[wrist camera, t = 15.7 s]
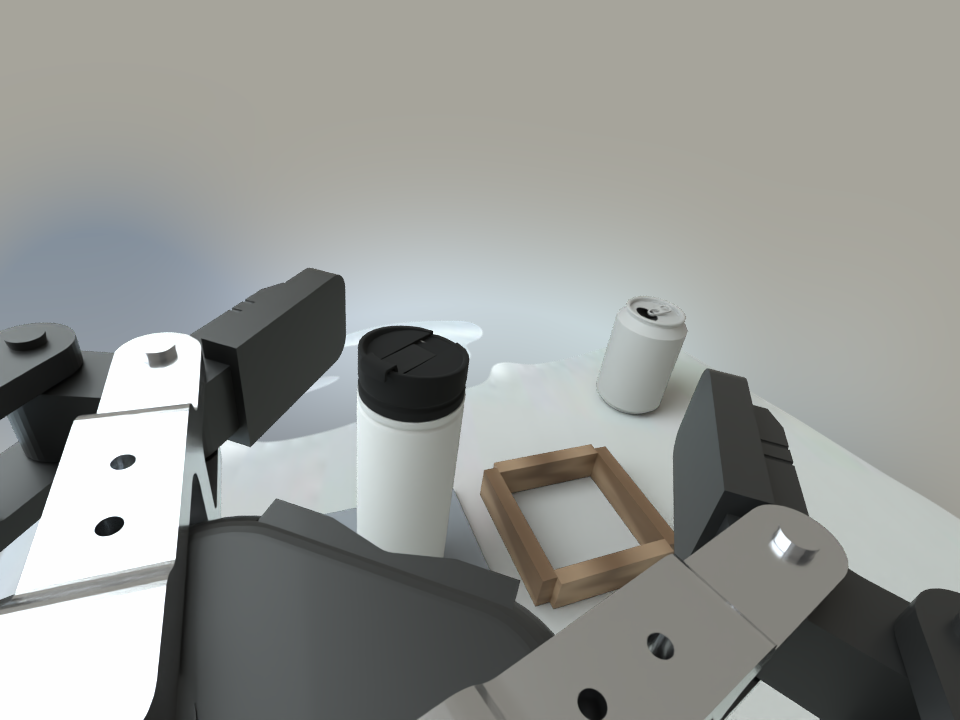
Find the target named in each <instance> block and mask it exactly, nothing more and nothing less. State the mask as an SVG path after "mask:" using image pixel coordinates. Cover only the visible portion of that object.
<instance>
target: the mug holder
mask: <svg viewBox="0 0 960 720" xmlns="http://www.w3.org/2000/svg"><path fill="white" fill-rule="evenodd" d="M588 476H591V478H592V479H593V480H594V482H595V483H596V484H597V486H598V487H599V489H600V490H601V491H602V493H603V494H604V495H605V497H606V498H607V500H608V501H609V502H610V504H611V505H612V506H613V508H614V509H615V511H616V512H617V513H618V515H619V516H620V517H621V519H622V520H623V522H624V523H625V524H626V526H627V527H628V528H629V530H630V531H631V533H632V534H633V535H634V537H635V538H636V539H637V541H638V542H639V544H640V545H641V546H637V547H633V548H630V549H626V550H623V551H619V552H616V553H612V554H609V555H605V556H602V557H598V558H595V559H591V560H588V561H584V562H581V563H577V564H573V565H570V566H566V567H563V568H559V569H556V570H553V568H552V566H551V564H550V562H549V561H548V559H547V557H546V555H545V553H544V551H543V550H542V548H541V546H540V544H539V542H538V541H537V539H536V537H535V535H534V533H533V532H532V530H531V528H530V526H529V524H528V523H527V521H526V519H525V517H524V515H523V514H522V512H521V510H520V508H519V506H518V505H517V503H516V501H515V499H514V497H513V496H512V494H511V493H514V492H519V491H523V490H528V489H533V488H537V487H542V486H546V485H551V484H556V483H560V482H565V481H569V480H574V479H579V478H583V477H588ZM480 495H481V497H482V499H483V501H484V503H485V505H486V507H487V510H488V512H489V514H490V516H491V518H492V520H493V522H494V524H495V526H496V528H497V530H498V532H499V534H500V536H501V538H502V540H503V542H504V544H505V546H506V548H507V550H508V552H509V554H510V556H511V558H512V560H513V562H514V564H515V566H516V568H517V570H518V572H519V574H520V576H521V578H522V580H523V582H524V584H525V586H526V588H527V590H528V592H529V594H530V596H531V599H532V601H533V603H534V605H535V606H538V605H541V604H544V603H547V602H550V604H551V605H552V607H553V609H555V608H558V607H562V606H565V605H568V604H571V603H574V602H577V601H581V600H584V599H587V598H590V597H593V596H597V595H600V594H603V593H606V592H609V591H613V590H616V589H619V588H622V587H623V586H624V585H626V584H627V583H629V582H630V581H631V580H633V579H634V578H636V577H637V576H638V575H640V574H641V573H643V572H644V571H645V570H647V569H648V568H650V567H651V566H652V565H654V564H655V563H657V562H658V561H659V560H661V559H662V558H664V557H666V556H668V555H670V554H674V531H673V530H672V529H671V528H670V526H669V525H668V524H667V523H666V521H665V520H664V519H663V518H662V516H661V515H660V514H659V513H658V512H657V510H656V509H655V508H654V507H653V505H652V504H651V503H650V502H649V500H648V499H647V498H646V497H645V495H644V494H643V493H642V492H641V490H640V489H639V488H638V487H637V485H636V484H635V483H634V482H633V480H632V479H631V478H630V477H629V475H628V474H627V473H626V472H625V470H624V469H623V468H622V467H621V465H620V464H619V463H618V462H617V460H616V459H615V458H614V457H613V455H612V454H611V453H610V452H609V450H608V449H607V448H606V447H600V448H595V449H594V447H593V446H592V445H591V444H590V445H585V446H580V447H574V448H569V449H564V450H559V451H554V452H548V453H543V454H538V455H533V456H527V457H522V458H517V459H512V460H507V461H501V462H496V463H494V467H493V468H492V469H487V470H484V475H483V480H482V486H481V492H480Z"/></svg>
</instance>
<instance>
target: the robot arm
mask: <svg viewBox="0 0 960 720" xmlns="http://www.w3.org/2000/svg"><path fill="white" fill-rule="evenodd" d="M345 339H346V314H345V283H344V279H343V278H342V276H340V275H336V274H333V273H329V272H325V271H321V270H317V269H313V268H307V269H305V270H303V271H302V272H300V273H299V274H297V275H296V276H294V277H293V278H291V279H290V280H288V281H287V282H286V283H280V284H277V285H274V286H271V287H268V288H264V289H261V290H259V291H258V292H257V293H255V294H254V295H252V296H250V297H249V298H247V299H246V300H245V302H241V303H239V304H238V305H236V306H234V307H233V308H232V311H231V310H228V311H227V312H225V313H224V314H222V315H220V316H219V317H217V318H216V319H214V320H213V321H211V322H209V323H208V324H207V325H205V326H203V327H202V328H200V329H198V330H197V331H195V332H194V333H192V334H191V335H185V334H181V333H171V332H168V333H155V334H149V335H145V336H141V337H138V338H135V339H133V340H131V341H129V342H127V343H125V344H124V345H122V346H121V347H120V348H119V349H118V350H117V351H116V352H115V353H108V352H93V351H81V350H80V347H79V344H78V341H77V338H76V335H75V332H74V331H73V330H72V329H71V328H69V327H68V326H65V325H61V324H56V323H31V324H24V325H19V326H15V327H11V328H8V329H5V330H2V331H0V420H1V419H2V418H4V417H5V416H8V418H9V421H10V423H11V425H12V428H13V430H14V432H15V434H16V436H17V438H18V442H17V443H15V444H14V445H12V446H11V447H9V448H8V449H7V450H5V451H4V452H2V453H1V454H0V552H1V551H2V550H3V549H5V548H6V547H7V546H8V545H9V544H11V543H12V542H13V541H14V540H15V539H17V538H18V537H19V536H20V535H21V534H22V533H24V532H25V531H26V530H27V529H28V528H30V527H31V526H32V525H33V524H34V523H36V522H37V521H38V520H39V519H40V518H41V520H40V523H39V526H38V529H37V532H36V535H35V538H34V541H33V544H32V547H31V550H30V553H29V555H28V558H27V561H26V564H25V567H24V570H23V573H22V576H21V579H20V582H19V585H18V588H17V590H16V593H15V594H14V595H11V596H9V597H6V598H4V599H1V600H0V720H726V719H727V718H728V717H729V716H730V715H731V714H732V713H733V712H734V711H735V710H736V708H737V707H738V706H739V705H740V704H741V703H742V702H743V701H744V700H745V699H746V697H747V696H748V695H749V694H750V693H751V692H752V691H753V690H754V689H755V688H756V687H757V685H758V684H759V683H760V682H761V681H763V682H765V683H766V684H768V685H769V686H771V687H772V688H774V689H775V690H777V691H778V692H780V693H782V694H783V695H785V696H786V697H788V698H789V699H791V700H792V701H794V702H795V703H797V704H798V705H800V706H801V707H803V708H805V709H806V710H808V711H809V712H811V713H812V714H814V715H815V716H817V717H818V718H820V720H960V593H958V592H954V591H950V590H946V589H928V590H925V591H923V592H921V593H920V594H919V595H918V596H917V597H916V598H915V599H914V600H913V601H912V602H911V603H910V602H908V601H906V600H904V599H902V598H900V597H898V596H896V595H895V594H893V593H891V592H889V591H887V590H885V589H883V588H881V587H879V586H878V585H876V584H874V583H872V582H870V581H868V580H866V579H864V578H863V577H861V576H859V575H858V574H856V573H854V572H853V571H851V570H850V569H849V568H848V559H847V556H846V553H845V551H844V549H843V548H842V546H841V545H840V543H839V542H838V540H837V539H836V538H835V537H834V536H833V535H832V534H831V533H830V532H829V531H828V530H827V529H826V528H825V527H824V526H822V525H821V524H820V523H818V522H817V521H815V520H814V519H812V518H811V517H809V515H808V511H807V508H806V504H805V501H804V497H803V494H802V490H801V487H800V484H799V480H798V477H797V473H796V470H795V466H793V465H792V464H793V460H792V456H791V453H790V450H788V447H789V446H788V442H787V439H786V435H785V432H784V429H783V427H782V426H781V424H780V423H779V422H778V421H777V420H776V418H775V417H774V416H773V415H772V414H771V413H770V411H769V410H768V409H766V408H762V407H758V406H755V405H753V404H752V400H751V395H750V391H749V387H748V382H747V379H746V378H744V377H740V376H736V375H732V374H728V373H724V372H720V371H716V370H712V369H706V370H705V371H704V372H703V374H702V376H701V378H700V380H699V382H698V385H697V387H696V389H695V392H694V394H693V397H692V399H691V401H690V404H689V406H688V408H687V411H686V413H685V415H684V418H683V420H682V423H681V425H680V427H679V430H678V433H677V437H676V440H675V445H674V451H673V493H674V554H670V555H668V556H666V557H664V558H662V559H661V560H659V561H658V562H657V563H655V564H654V565H652V566H651V567H650V568H648V569H647V570H645V571H644V572H643V573H641V574H640V575H638V576H637V577H636V578H634V579H633V580H631V581H630V582H629V583H627V584H626V585H624V586H623V587H622V588H620V589H619V590H617V591H616V592H615V593H613V594H612V595H610V596H609V597H608V598H606V599H605V600H603V601H602V602H601V603H599V604H598V605H596V606H595V607H594V608H592V609H591V610H589V611H588V612H587V613H585V614H584V615H583V616H581V617H580V618H578V619H577V620H576V621H574V622H573V623H571V624H570V625H569V626H567V627H566V628H564V629H563V630H562V631H560V632H559V633H557V634H556V635H555V634H554V633H553V632H552V631H551V630H550V629H549V628H548V627H547V626H546V625H545V624H544V623H543V622H542V621H541V620H540V619H539V618H538V617H536V616H535V615H534V614H533V613H531V612H530V611H529V610H528V609H526V608H525V607H523V606H522V605H520V604H519V603H517V602H516V601H515V599H516V595H517V591H518V587H519V584H520V580H517V579H514V578H511V577H508V576H505V575H502V574H499V573H496V572H493V571H490V570H487V569H485V568H482V567H479V566H476V565H473V564H470V563H467V562H464V561H461V560H458V559H451V558H441V557H431V556H421V555H411V554H401V553H392V552H387V551H384V550H382V549H380V548H379V547H377V546H376V545H374V544H373V543H371V542H370V541H368V540H367V539H365V538H363V537H362V536H360V535H359V534H357V533H356V532H354V531H353V530H351V529H350V528H348V527H347V526H345V525H344V524H342V523H340V522H339V521H337V520H336V519H334V518H333V517H330V516H327V515H324V514H321V513H318V512H315V511H312V510H309V509H306V508H303V507H300V506H297V505H294V504H291V503H288V502H285V501H282V500H279V499H277V498H276V499H275V501H274V502H273V503H272V504H271V505H270V507H269V508H268V509H267V510H266V511H265V513H264V514H263V515H262V516H234V517H224V518H221V471H222V457H221V451H220V446H221V445H222V444H223V443H224V442H225V441H226V440H230V441H233V442H236V443H239V444H243V445H246V446H249V447H251V446H252V445H253V444H254V443H255V442H256V441H257V440H258V439H259V438H260V437H261V436H262V435H263V434H264V433H265V432H266V431H267V430H268V429H269V428H270V427H271V426H272V425H273V424H274V423H275V422H276V421H277V420H278V419H279V418H280V417H281V416H282V415H283V414H284V413H285V412H286V411H287V410H288V409H289V408H290V407H291V406H292V405H293V404H294V403H295V402H296V401H297V400H298V399H299V398H300V397H301V396H302V395H303V394H304V393H305V392H306V391H307V390H308V389H309V388H310V387H311V386H312V385H313V384H314V383H315V382H316V381H317V380H318V379H319V378H320V377H321V376H322V375H323V374H324V373H325V372H326V371H327V370H328V369H329V368H330V367H331V366H332V365H333V364H334V363H335V362H336V361H337V360H338V358H339V357H340V355H341V353H342V351H343V348H344V344H345Z"/></svg>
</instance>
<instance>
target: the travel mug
mask: <svg viewBox="0 0 960 720" xmlns="http://www.w3.org/2000/svg"><path fill="white" fill-rule="evenodd" d="M468 365H469V355H468V353H467V351H466V349H465V348H463V347H462V346H461V345H460V344H458V343H454V342H452V341H450V340H448V339H446V338H444V337H442V336H439V335H434V334H433V331H431V330H428V329H424V328H420V327H413V326H388V327H382V328H378V329H374V330H372V331H370V332H368V333H366V334H365V335H364V336H363V337H362V338H361V339H360V341H359V344H358V377H359V379H358V386H357V534H359V535H360V536H362V537H363V538H365V539H367V540H368V541H370V542H371V543H373V544H374V545H376V546H377V547H379V548H380V549H382V550H384V551H387V552H392V553H401V554H411V555H421V556H431V557H441V558H443V556H444V549H445V542H446V535H447V527H448V520H449V513H450V505H451V498H452V490H453V483H454V476H455V468H456V461H457V454H458V446H459V439H460V432H461V424H462V417H463V410H464V401H465V395H466V394H465V388H466V387H465V384H466V380H467V372H468Z"/></svg>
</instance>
